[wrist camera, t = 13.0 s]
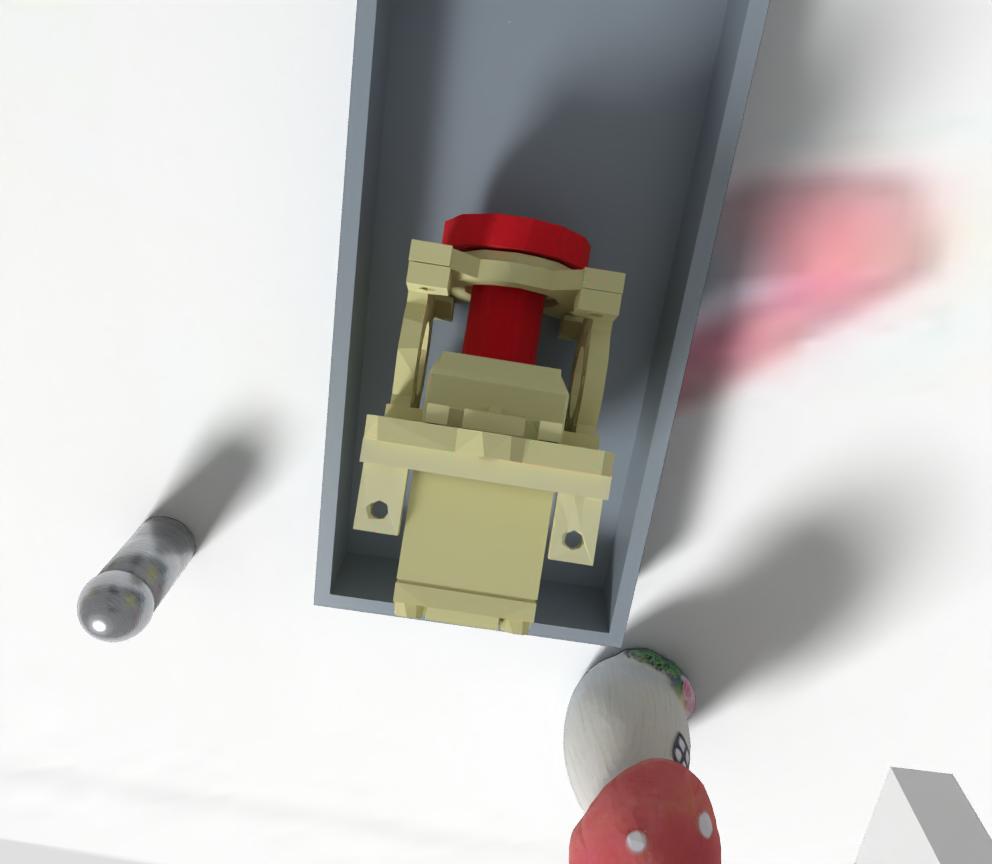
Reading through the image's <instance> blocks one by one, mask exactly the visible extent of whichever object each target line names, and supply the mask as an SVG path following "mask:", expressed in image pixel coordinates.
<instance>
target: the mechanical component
mask: <svg viewBox="0 0 992 864" xmlns="http://www.w3.org/2000/svg"><path fill="white" fill-rule="evenodd" d="M508 22H509V21H508ZM590 250H591V246H590V244H589V242H588V241H587V239H586V237H584V236H582V235H580V234H578V233H576V232H574V231H572V230H570V229H568V228H566V227H563V226H559V225H556V224H552V223H549V222H545V221H541V220H538V219H534V218H527V217H520V216H513V215H506V214H499V213H491V214H461V215H459V216H456V217H454V218H452V219H450V220H447V221H445V224H444V231H443V238H442V244H439V243H433V242H427V241H420V240H414V239H412V241H411V247H410V253H409V266H408V272H407V279H406V284H407V287H408V297H407V304H406V308H405V313H404V317H403V323H402V328H401V334H400V339H399V345H398V351H397V359H396V367H395V375H394V383H393V390H392V397H391V402H390V404H386V409H385V415H384V416H377V415H368V414H367V418H366V425H365V433H364V438H363V442H362V448H361V454H360V461H359V462H364V463H363V470H362V476H361V482H360V488H359V494H358V501H357V507H356V513H355V519H354V525H353V529H357V530H363V531H370V532H376V533H383V534H389V535H396V536H398V535H399V532H400V526H401V520H402V514H403V507H404V501H405V495H406V489H407V482H408V476H409V470H410V469H411V470H414V471H413V478H412V484H411V490H410V497H409V503H408V509H407V515H406V522H405V528H404V534H403V541H402V547H401V553H400V560H399V566H398V572H397V581H396V583H395V590H394V597H393V602H394V609H395V611H394V613H395V614H396V615H397V616H402V617H406V618H422V615H425V620H431V621H437V622H444V623H450V624H457V625H463V626H470V627H476V628H483V629H489V630H496V631H497V630H498V626H501V628H500V629H501V630H502V631H504V632H508V633H512V634H519V635H526V634H528V631H529V629H530V626H531V623H534V618H535V611H536V605H537V603H536V601H535V600H537V599H538V592H539V586H540V579H541V573H542V566H543V559H544V553H545V546H546V540H547V533H548V527H549V520H550V514H551V507H552V501H553V494H554V492H557V494H556V501H555V507H554V514H553V520H552V527H551V534H550V540H549V547H548V553H547V557H548V559H551V560H558V561H564V562H571V563H577V564H584V565H590V566H593V562H594V555H595V549H596V542H597V535H598V529H599V522H600V516H601V509H602V502H603V500H608V499H609V492H610V486H611V479H612V471H613V464H614V458H615V453H611V452H607V451H601V450H598V449H599V442H600V436H596V427H597V422H598V417H599V413H600V408H601V403H602V398H603V392H604V386H605V379H606V373H607V367H608V359H609V347H610V336H611V329H612V325H613V321H614V320H615V319H616V318H617V317H618V316H619V311H620V304H621V297H622V294H623V288H624V282H625V275H626V273H619V272H613V271H607V270H601V269H594V268H588V264H589V257H590ZM459 302H470V305H469V312H468V318H467V324H466V331H465V337H464V343H463V350H462V354H461V353H454V352H448V351H443V352H442V355H441V358H438V359H437V360H436V362H435V363H434V365H433V367H432V368H431V370H430V371H429V373H428V379H427V386H426V392H425V399H424V406H423V409H419V407H420V402H421V397H422V392H423V386H424V380H425V374H426V369H427V362H428V356H429V349H430V342H431V334H432V326H433V320H434V319H435V320H442V321H448V322H452V321H453V314H454V308H455V303H459ZM543 313H544V314H546V315H549V316H552V317H555V318H558V319H561V321H560V326H559V332H558V339H564V340H571V341H577V345H576V350H575V355H574V360H573V365H572V371H571V377H570V383H569V390H568V391H567V389H566V386H565V384H564V381H563V379H562V377H561V369H555V368H549V367H542V366H536V365H535V363H536V356H537V350H538V343H539V337H540V330H541V323H542V317H543ZM377 501H382V502H384V503H386V504H387V506H388V514H387V515H386V516H385V517H383V518H379V519H378V518H377V517H376V516H375V515H373V514H372V508H373V503H375V502H377ZM574 530H575V531H577V532H578V533H579V534H580V535H581V542H580V543H579V544H578V545H577V546H576V547H574V548H571V547H569V546H567V545H566V544H565V542H564V541H565V538H566V534H567V533H569V532H571V531H574Z"/></svg>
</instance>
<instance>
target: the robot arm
mask: <svg viewBox="0 0 992 864" xmlns="http://www.w3.org/2000/svg"><path fill="white" fill-rule="evenodd" d="M854 864H992V840H991V838H990V836H989V835H988V833H987V831H986V830H985V828H984V826H983V824H982V823H981V821H980V819H979V818H978V816H977V814H976V813H975V811H974V809H973V808H972V806H971V804H970V803H969V801H968V799H967V798H966V796H965V794H964V793H963V791H962V789H961V787H960V786H959V784H958V782H957V781H956V779H955V777H954V776H953V774H946V773H937V772H929V771H921V770H913V769H904V768H896V767H890V769H889V772H888V775H887V777H886V780H885V783H884V785H883V788H882V791H881V793H880V796H879V799H878V801H877V804H876V807H875V809H874V812H873V815H872V817H871V820H870V823H869V825H868V828H867V831H866V833H865V836H864V839H863V841H862V844H861V847H860V849H859V852H858V855H857V857H856V860H855V863H854Z"/></svg>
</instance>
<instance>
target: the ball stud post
mask: <svg viewBox="0 0 992 864" xmlns="http://www.w3.org/2000/svg"><path fill="white" fill-rule="evenodd" d="M194 552H195V541H194V538H193V536H192V534H191V532H190V531H189V530H188V528H187V527H186V526H184V525H183V524H182V523H180V522H179V521H177V520H175V519H172V518H168V517H154V518H151V519H149V520H147V521H145V522H144V523H143V524H142V525H141V526H140V527H139V529H138V530H137V531H136V532H135V533H134V534H133V535H132V537H131V538H130V539H129V540H128V541H127V542H126V543H125V544H124V546H123V547H122V548H121V549H120V550H119V551H118V552H117V554H116V555H115V556H114V557H113V558H112V559H111V560H110V562H109V563H108V564H107V565H106V566H105V567H104V568H103V570H102V571H101V572H100V573H99V574H98V575H97V576H96V577H94V578H93V579H92V580H90V581H89V582H88V583H87V584H86V586H85V587H84V588H83V590H82V592H81V594H80V596H79V599H78V603H77V614H78V618H79V621H80V624H81V625H82V627H83V628H84V629H85V631H86V632H87V633H89V634H90V635H91V636H93V637H94V638H96V639H99V640H102V641H106V642H120V641H124V640H128V639H130V638H132V637H134V636H136V635H137V634H138V633H140V632H141V631H142V630H143V629H144V628H145V627H146V626H147V624H148V623H149V621H150V619H151V617H152V614H153V612H154V611H155V609H156V608H157V606H158V605H159V604H160V602H161V601H162V599H163V598H164V597H165V595H166V594H167V592H168V591H169V590H170V588H171V587H172V585H173V584H174V583H175V581H176V580H177V578H178V577H179V576H180V574H181V573H182V571H183V570H184V569H185V567H186V566H187V564H188V563H189V562H190V560H191V559H192V557H193V555H194Z"/></svg>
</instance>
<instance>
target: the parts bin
mask: <svg viewBox="0 0 992 864" xmlns="http://www.w3.org/2000/svg"><path fill="white" fill-rule="evenodd" d="M769 2H770V0H357V11H356V24H355V38H354V52H353V66H352V80H351V94H350V108H349V122H348V135H347V149H346V163H345V177H344V191H343V205H342V219H341V233H340V247H339V260H338V274H337V288H336V302H335V316H334V330H333V344H332V358H331V372H330V385H329V399H328V413H327V427H326V441H325V455H324V469H323V483H322V496H321V510H320V524H319V538H318V552H317V566H316V580H315V594H314V605H317V606H325V607H332V608H339V609H346V610H353V611H360V612H367V613H375V614H382V615H389V616H396V617H402V616H397V615H396V614H395V613H394V611H395V609H394V602H393V597H394V590H395V583H396V581H397V572H398V566H399V560H400V553H401V547H402V541H403V534H404V528H405V522H406V515H407V509H408V503H409V497H410V490H411V484H412V478H413V471H414V470H411V469H410V470H409V476H408V482H407V489H406V495H405V501H404V507H403V514H402V520H401V526H400V532H399V535H398V536H396V535H389V534H383V533H376V532H370V531H363V530H357V529H353V525H354V519H355V513H356V507H357V501H358V494H359V488H360V482H361V476H362V470H363V463H364V462H359V461H360V454H361V448H362V442H363V438H364V433H365V425H366V418H367V414H368V415H377V416H384V415H385V409H386V404H390V402H391V397H392V390H393V383H394V375H395V367H396V359H397V351H398V345H399V339H400V334H401V328H402V323H403V317H404V313H405V308H406V304H407V297H408V287H407V284H406V279H407V272H408V266H409V253H410V247H411V241H412V239H414V240H420V241H427V242H433V243H439V244H442V238H443V231H444V224H445V221H447V220H450V219H452V218H454V217H456V216H459V215H461V214H491V213H499V214H506V215H513V216H520V217H527V218H534V219H538V220H541V221H545V222H549V223H552V224H556V225H559V226H563V227H566V228H568V229H570V230H572V231H574V232H576V233H578V234H580V235H582V236H584V237H586V239H587V241H588V242H589V244H590V246H591V250H590V257H589V264H588V268H594V269H601V270H607V271H613V272H619V273H626V275H625V282H624V288H623V294H622V297H621V304H620V311H619V316H618V317H617V318H616V319H615V320H614V321H613V325H612V329H611V336H610V347H609V359H608V367H607V373H606V379H605V386H604V392H603V398H602V403H601V408H600V413H599V417H598V422H597V427H596V436H600V442H599V449H598V450H601V451H607V452H611V453H615V458H614V464H613V471H612V479H611V486H610V492H609V499H608V500H603V502H602V509H601V516H600V522H599V529H598V535H597V542H596V549H595V555H594V562H593V566H590V565H584V564H577V563H571V562H564V561H558V560H551V559H548V557H547V553H548V547H549V540H550V534H551V527H552V520H553V514H554V507H555V501H556V494H557V492H554V494H553V501H552V507H551V514H550V520H549V527H548V533H547V540H546V546H545V553H544V559H543V566H542V573H541V579H540V586H539V592H538V599H537V600H535V601H536V603H537V605H536V611H535V618H534V623H531V626H530V629H529V631H528V634H526V635H532V636H539V637H546V638H553V639H561V640H568V641H575V642H582V643H589V644H596V645H603V646H611V647H618V648H621V647H622V643H623V639H624V634H625V630H626V625H627V621H628V617H629V612H630V608H631V604H632V599H633V595H634V591H635V586H636V582H637V578H638V573H639V569H640V564H641V560H642V556H643V551H644V547H645V543H646V538H647V534H648V530H649V525H650V521H651V516H652V512H653V508H654V503H655V499H656V495H657V490H658V486H659V482H660V477H661V473H662V469H663V464H664V460H665V455H666V451H667V447H668V442H669V438H670V434H671V429H672V425H673V421H674V416H675V412H676V408H677V403H678V399H679V394H680V390H681V386H682V381H683V377H684V373H685V368H686V364H687V360H688V355H689V351H690V346H691V342H692V338H693V333H694V329H695V325H696V320H697V316H698V312H699V307H700V303H701V299H702V294H703V290H704V285H705V281H706V277H707V272H708V268H709V264H710V259H711V255H712V251H713V246H714V242H715V238H716V233H717V229H718V224H719V220H720V216H721V211H722V207H723V203H724V198H725V194H726V190H727V185H728V181H729V176H730V172H731V168H732V163H733V159H734V155H735V150H736V146H737V142H738V137H739V133H740V129H741V124H742V120H743V115H744V111H745V107H746V102H747V98H748V94H749V89H750V85H751V81H752V76H753V72H754V68H755V63H756V59H757V54H758V50H759V46H760V41H761V37H762V33H763V28H764V24H765V20H766V15H767V11H768V6H769ZM508 21H509V22H508ZM469 305H470V302H459V303H455V308H454V314H453V321H452V322H448V321H442V320H435V319H434V320H433V326H432V334H431V342H430V349H429V356H428V362H427V369H426V374H425V380H424V386H423V392H422V397H421V402H420V407H419V409H423V406H424V399H425V392H426V386H427V379H428V373H429V371H430V370H431V368H432V367H433V365H434V363H435V362H436V360H437V359H438V358H441V355H442V352H443V351H448V352H454V353H461V354H462V350H463V343H464V337H465V331H466V324H467V318H468V312H469ZM560 321H561V319H558V318H555V317H552V316H549V315H546V314H544V313H543V317H542V323H541V330H540V337H539V343H538V350H537V356H536V363H535V365H536V366H542V367H549V368H555V369H561V377H562V379H563V381H564V384H565V386H566V389H567V391H568V390H569V383H570V377H571V371H572V365H573V360H574V355H575V350H576V345H577V341H571V340H564V339H558V332H559V326H560ZM372 514H373V515H375V516H376V517H377V518H378V519H379V518H383V517H385V516H386V515H387V514H388V506H387V504H386V503H384V502H382V501H377V502H375V503H373V508H372ZM564 542H565V544H566V545H567V546H569V547H571V548H574V547H576V546H577V545H578V544H579V543H580V542H581V535H580V534H579V533H578V532H577V531H575V530H574V531H571V532H569V533H567V534H566V538H565V541H564ZM403 618H406V617H403ZM410 619H417V620H425V615H422V618H410ZM425 621H431V620H425ZM432 622H437V621H432ZM439 623H444V622H439ZM446 624H450V623H446ZM453 625H457V624H453ZM460 626H463V625H460ZM468 627H470V626H468ZM475 628H476V627H475ZM500 628H501V626H498V630H497V631H502V630H501V629H500ZM482 629H483V628H482ZM503 632H504V631H503Z"/></svg>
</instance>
